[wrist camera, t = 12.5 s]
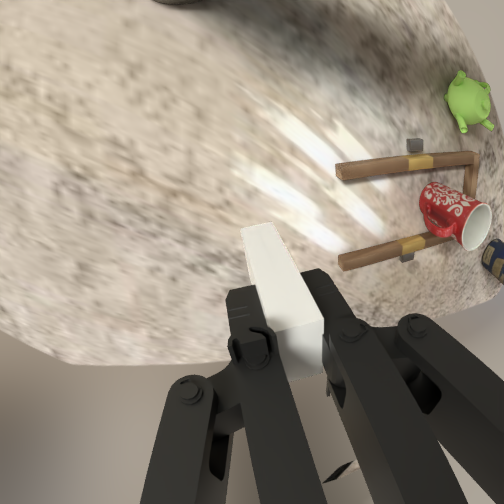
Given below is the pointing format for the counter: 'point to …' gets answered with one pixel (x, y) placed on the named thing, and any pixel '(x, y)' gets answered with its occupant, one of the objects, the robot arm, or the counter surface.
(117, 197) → the counter surface
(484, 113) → the teapot
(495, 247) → the canister
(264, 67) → the counter surface
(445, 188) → the mug
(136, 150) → the counter surface
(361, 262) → the beam slot
